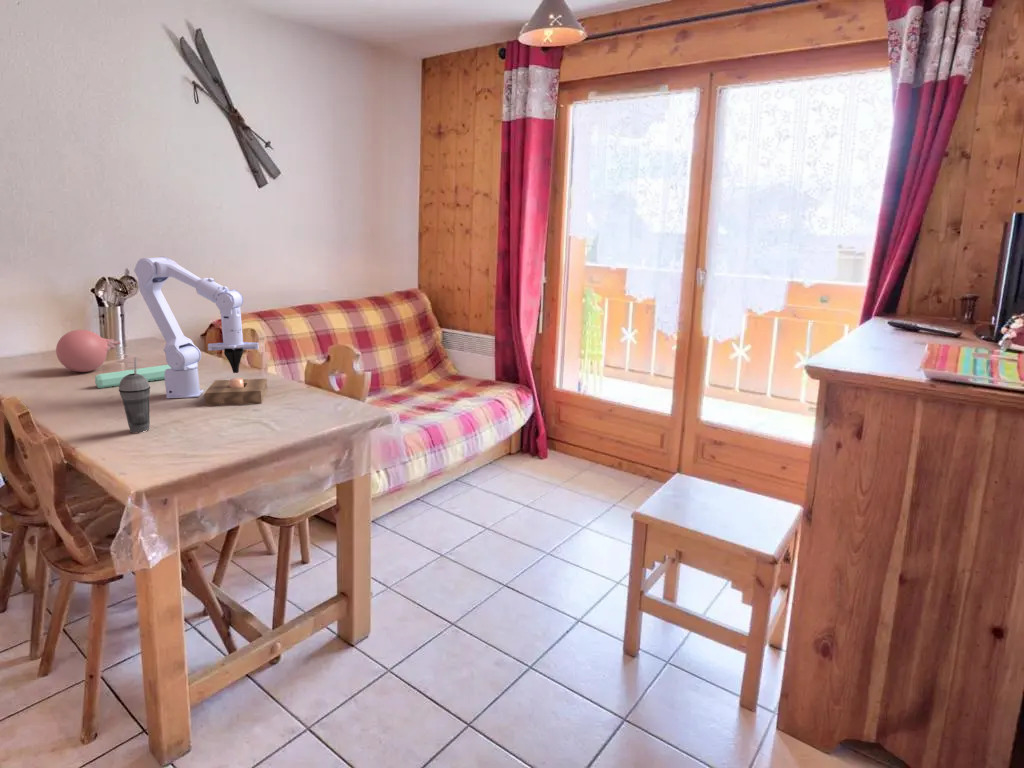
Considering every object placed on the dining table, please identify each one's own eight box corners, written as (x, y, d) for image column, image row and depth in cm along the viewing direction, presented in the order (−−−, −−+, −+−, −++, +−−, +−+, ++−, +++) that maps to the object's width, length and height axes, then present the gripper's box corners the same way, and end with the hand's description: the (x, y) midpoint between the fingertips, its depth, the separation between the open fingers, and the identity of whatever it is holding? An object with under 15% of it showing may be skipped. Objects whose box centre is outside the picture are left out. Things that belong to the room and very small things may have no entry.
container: (94, 371, 209) (176, 360, 226) (91, 375, 214) (172, 364, 230) (98, 389, 209) (180, 376, 226) (95, 392, 214) (176, 380, 230)
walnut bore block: (205, 405, 195) (204, 393, 194) (216, 392, 210) (214, 380, 209) (261, 403, 199) (260, 390, 198) (267, 390, 214) (266, 378, 213)
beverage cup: (132, 426, 175) (123, 354, 170) (160, 426, 175) (151, 354, 170) (118, 434, 168) (108, 360, 163) (147, 434, 168) (138, 360, 163)
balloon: (126, 371, 235) (121, 330, 231) (60, 378, 223) (53, 335, 220) (121, 363, 247) (116, 324, 243) (58, 370, 235) (51, 328, 231)
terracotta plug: (230, 399, 202) (228, 381, 200) (232, 396, 206) (230, 378, 204) (243, 399, 203) (242, 380, 201) (245, 395, 207) (244, 377, 205)
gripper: (204, 332, 194) (208, 376, 197) (255, 331, 197) (258, 374, 200) (208, 328, 200) (213, 370, 204) (258, 327, 204) (261, 369, 207)
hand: (235, 372), depth 202 cm, fingers closed
